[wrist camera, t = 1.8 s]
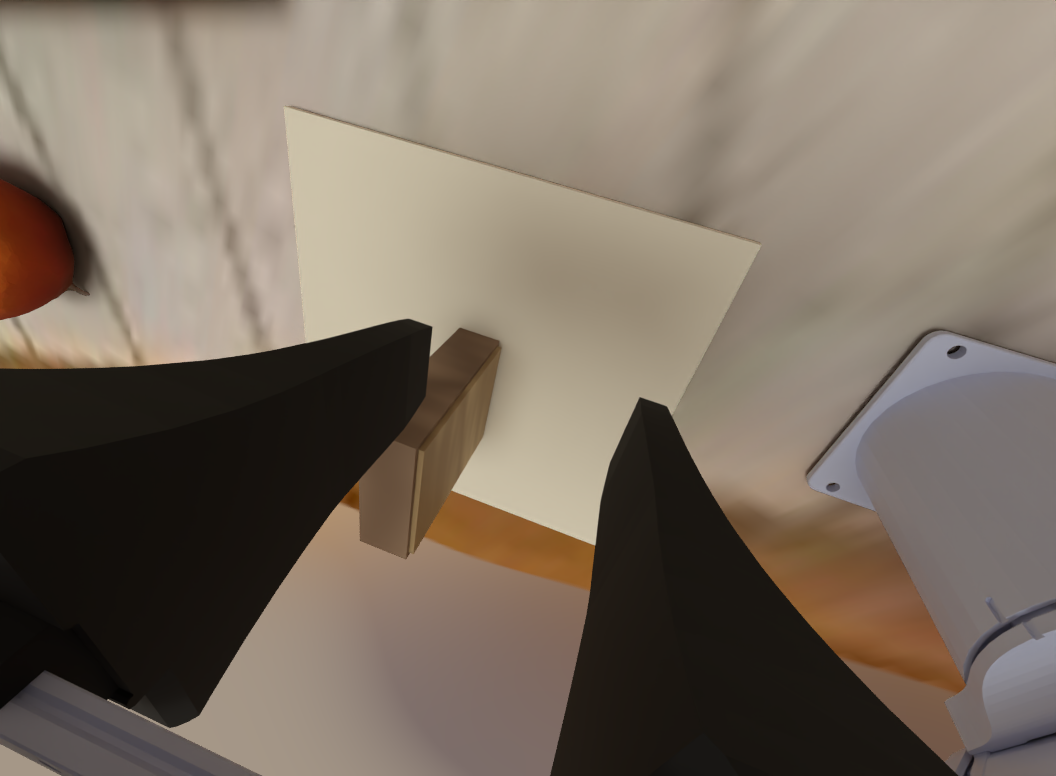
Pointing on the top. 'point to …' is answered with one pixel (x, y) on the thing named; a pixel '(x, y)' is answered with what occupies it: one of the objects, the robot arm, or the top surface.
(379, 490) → the walnut tile
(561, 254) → the mat
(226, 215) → the top surface
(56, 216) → the fruit
